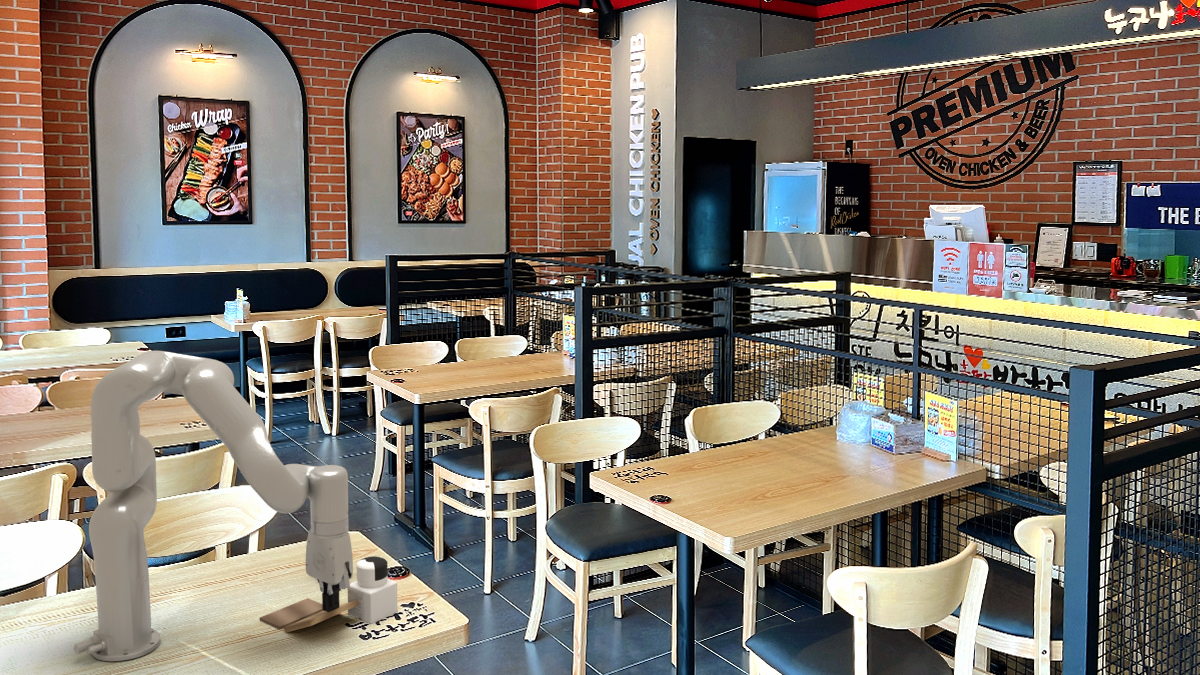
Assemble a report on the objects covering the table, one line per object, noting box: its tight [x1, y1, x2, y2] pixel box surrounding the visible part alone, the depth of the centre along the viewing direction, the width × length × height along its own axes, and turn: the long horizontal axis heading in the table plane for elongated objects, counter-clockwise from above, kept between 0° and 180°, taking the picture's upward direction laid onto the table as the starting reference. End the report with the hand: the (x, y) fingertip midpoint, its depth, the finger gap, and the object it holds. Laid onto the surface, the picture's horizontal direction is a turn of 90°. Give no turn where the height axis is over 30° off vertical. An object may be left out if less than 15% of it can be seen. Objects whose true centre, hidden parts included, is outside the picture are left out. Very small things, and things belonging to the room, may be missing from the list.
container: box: [346, 556, 398, 625], centre depth 210 cm, size 8×8×13 cm
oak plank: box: [283, 600, 359, 633], centre depth 204 cm, size 13×10×1 cm
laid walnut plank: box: [258, 597, 323, 630], centre depth 206 cm, size 13×18×1 cm
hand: (331, 609), depth 202 cm, fingers closed
